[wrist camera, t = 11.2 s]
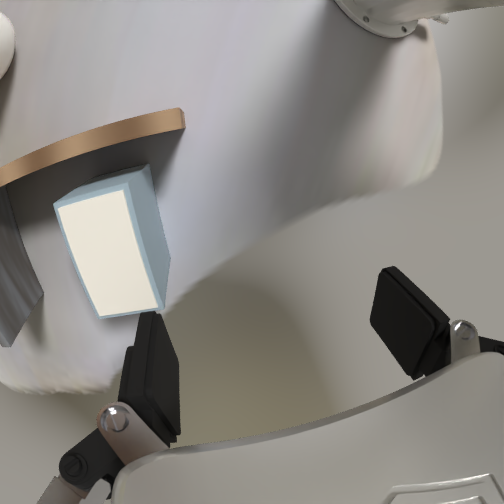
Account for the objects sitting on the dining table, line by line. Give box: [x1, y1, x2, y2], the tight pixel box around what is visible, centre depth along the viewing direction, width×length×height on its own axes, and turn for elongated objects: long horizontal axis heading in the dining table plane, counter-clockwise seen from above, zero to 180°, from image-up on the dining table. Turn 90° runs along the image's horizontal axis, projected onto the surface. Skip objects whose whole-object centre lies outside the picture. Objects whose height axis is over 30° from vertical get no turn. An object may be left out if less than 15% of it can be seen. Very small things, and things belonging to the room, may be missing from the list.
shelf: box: [0, 108, 186, 347], centre depth 20 cm, size 28×16×10 cm, turn 96°
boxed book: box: [53, 164, 171, 319], centre depth 22 cm, size 6×10×9 cm, turn 6°
